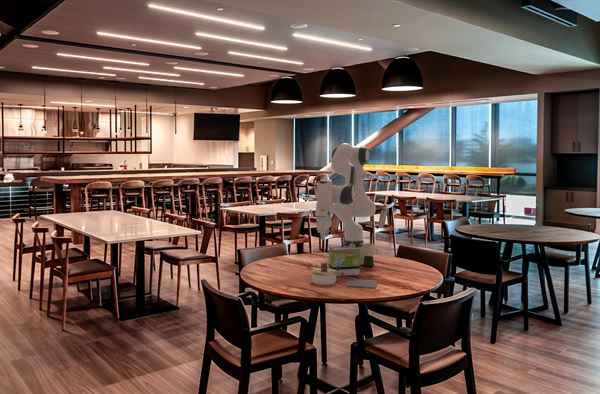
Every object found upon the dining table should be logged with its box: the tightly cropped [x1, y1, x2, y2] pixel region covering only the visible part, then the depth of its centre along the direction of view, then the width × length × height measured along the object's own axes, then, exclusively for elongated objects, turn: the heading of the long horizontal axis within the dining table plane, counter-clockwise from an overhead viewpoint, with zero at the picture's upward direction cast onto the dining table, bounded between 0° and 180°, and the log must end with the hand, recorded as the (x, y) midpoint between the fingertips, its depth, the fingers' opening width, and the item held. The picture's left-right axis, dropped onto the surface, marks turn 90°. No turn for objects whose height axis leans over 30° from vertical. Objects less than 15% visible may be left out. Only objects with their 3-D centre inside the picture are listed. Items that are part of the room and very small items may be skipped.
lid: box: [311, 262, 337, 275], centre depth 264 cm, size 13×13×5 cm
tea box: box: [327, 246, 361, 277], centre depth 281 cm, size 15×10×15 cm, turn 105°
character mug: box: [360, 243, 379, 267], centre depth 301 cm, size 11×7×13 cm, turn 79°
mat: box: [346, 278, 379, 289], centre depth 259 cm, size 14×14×1 cm
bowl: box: [311, 272, 337, 286], centre depth 264 cm, size 12×12×5 cm
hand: (324, 237), depth 263 cm, fingers open, 8 cm apart
